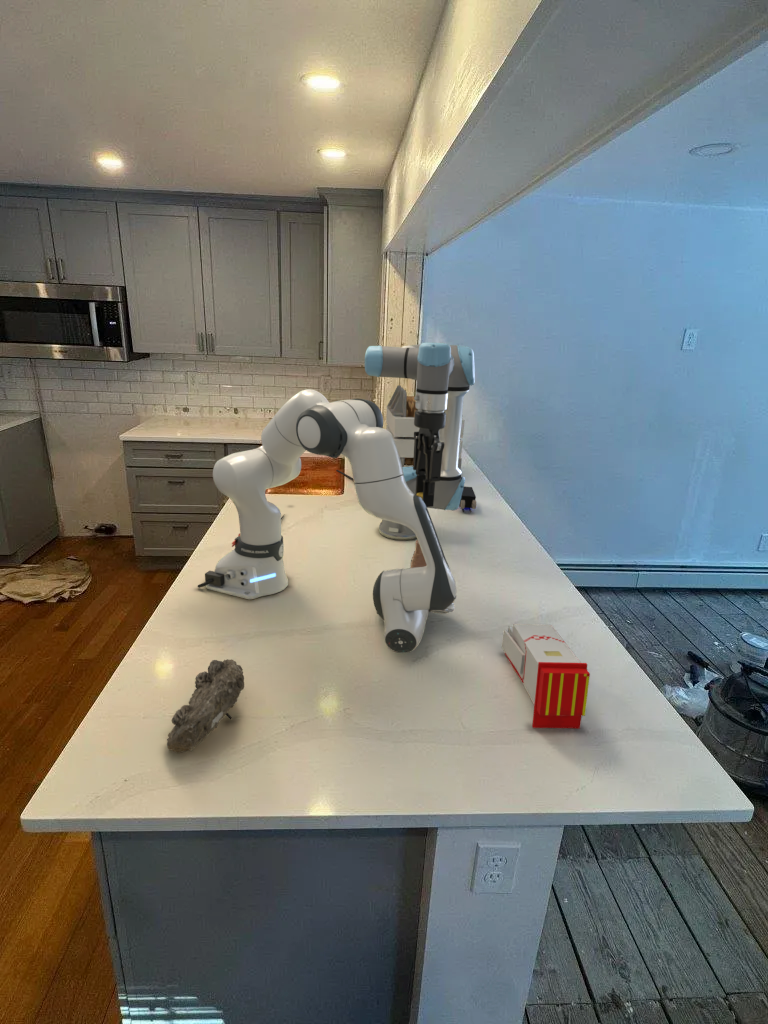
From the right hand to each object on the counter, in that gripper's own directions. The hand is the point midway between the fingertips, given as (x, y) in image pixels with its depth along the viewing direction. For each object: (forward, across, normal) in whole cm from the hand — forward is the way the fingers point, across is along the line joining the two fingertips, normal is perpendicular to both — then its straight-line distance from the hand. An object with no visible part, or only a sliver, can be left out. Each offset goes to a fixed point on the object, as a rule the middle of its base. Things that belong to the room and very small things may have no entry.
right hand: (424, 503), depth 143 cm
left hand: (+23, -1, 0) cm, 23 cm away
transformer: (+29, -120, +50) cm, 133 cm away
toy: (+29, +39, +12) cm, 50 cm away
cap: (-2, 0, 0) cm, 2 cm away
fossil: (+29, +31, -54) cm, 69 cm away
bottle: (+29, 0, 0) cm, 29 cm away
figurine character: (+29, -68, +48) cm, 89 cm away
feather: (+29, -72, -24) cm, 82 cm away
